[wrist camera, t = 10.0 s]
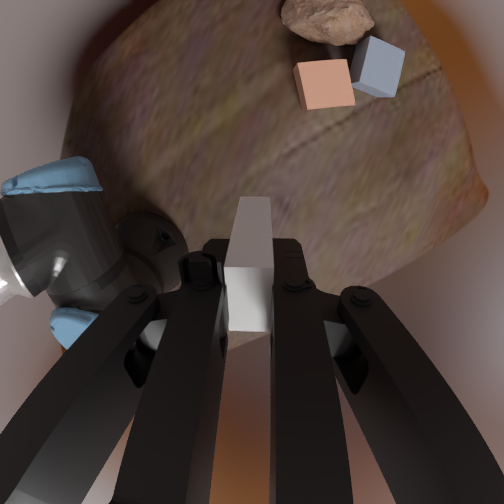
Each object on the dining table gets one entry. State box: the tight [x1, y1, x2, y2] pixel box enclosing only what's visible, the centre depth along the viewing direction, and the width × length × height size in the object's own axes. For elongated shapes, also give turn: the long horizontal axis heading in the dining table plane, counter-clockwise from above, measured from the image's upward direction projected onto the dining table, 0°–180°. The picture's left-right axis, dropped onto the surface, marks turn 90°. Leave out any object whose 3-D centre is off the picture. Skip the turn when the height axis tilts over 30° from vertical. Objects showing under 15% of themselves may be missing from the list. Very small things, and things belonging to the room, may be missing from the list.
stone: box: [281, 0, 374, 46], centre depth 23 cm, size 12×9×10 cm
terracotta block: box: [293, 59, 355, 110], centre depth 29 cm, size 6×6×6 cm
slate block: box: [349, 36, 405, 97], centre depth 27 cm, size 5×7×6 cm
